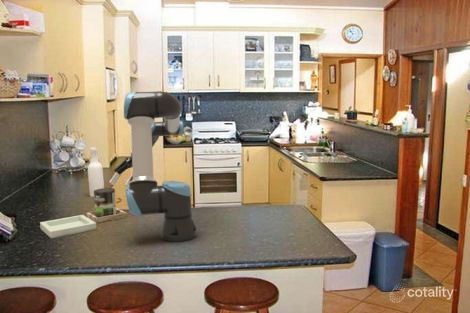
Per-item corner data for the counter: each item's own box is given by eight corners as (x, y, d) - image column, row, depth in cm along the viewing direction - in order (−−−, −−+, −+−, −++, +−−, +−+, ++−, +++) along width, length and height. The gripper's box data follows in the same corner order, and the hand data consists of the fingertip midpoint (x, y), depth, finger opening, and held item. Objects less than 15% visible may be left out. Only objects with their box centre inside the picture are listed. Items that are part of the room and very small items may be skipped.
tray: (96, 229, 210) (96, 223, 209) (51, 238, 198) (50, 231, 198) (83, 220, 226) (82, 214, 226) (40, 228, 215) (39, 222, 214)
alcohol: (86, 197, 281) (82, 148, 277) (95, 193, 290) (91, 146, 286) (99, 197, 279) (95, 148, 275) (107, 194, 287) (103, 146, 283)
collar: (126, 217, 229) (126, 212, 228) (96, 223, 220) (95, 218, 220) (115, 211, 241) (115, 207, 241) (86, 217, 233) (86, 212, 232)
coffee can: (106, 221, 224) (104, 192, 222) (91, 219, 229) (89, 191, 227) (121, 215, 233) (119, 188, 231) (106, 214, 238) (103, 187, 236)
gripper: (159, 158, 239) (138, 191, 230) (130, 155, 255) (109, 186, 246) (151, 149, 234) (128, 183, 225) (122, 147, 251) (100, 178, 241)
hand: (118, 185), depth 236 cm, fingers open, 13 cm apart
